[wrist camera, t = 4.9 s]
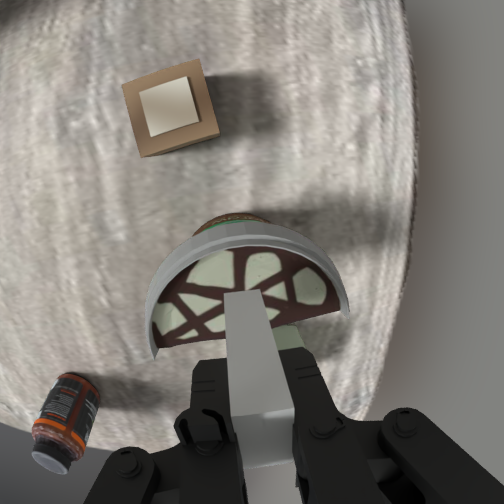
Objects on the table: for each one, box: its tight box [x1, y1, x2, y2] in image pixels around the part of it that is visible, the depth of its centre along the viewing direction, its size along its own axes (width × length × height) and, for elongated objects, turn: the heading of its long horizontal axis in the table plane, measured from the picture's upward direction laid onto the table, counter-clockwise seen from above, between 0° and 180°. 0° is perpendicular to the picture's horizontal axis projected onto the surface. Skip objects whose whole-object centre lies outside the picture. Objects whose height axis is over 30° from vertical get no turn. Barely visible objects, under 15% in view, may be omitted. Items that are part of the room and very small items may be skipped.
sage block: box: [272, 325, 306, 350], centre depth 25 cm, size 5×5×6 cm
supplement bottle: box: [32, 374, 100, 474], centre depth 23 cm, size 6×6×11 cm
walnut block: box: [122, 59, 220, 158], centre depth 18 cm, size 5×5×5 cm
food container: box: [145, 213, 350, 360], centre depth 20 cm, size 12×6×10 cm, turn 101°
